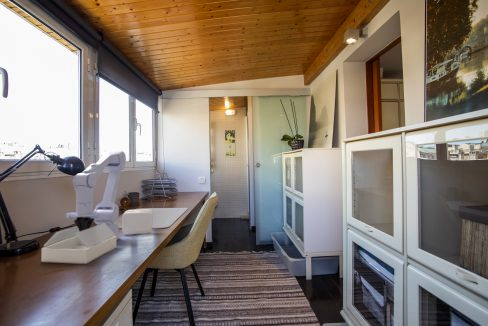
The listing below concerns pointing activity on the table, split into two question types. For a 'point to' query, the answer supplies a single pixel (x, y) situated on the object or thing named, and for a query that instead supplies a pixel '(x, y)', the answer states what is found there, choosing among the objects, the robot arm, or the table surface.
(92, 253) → the carton
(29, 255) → the table surface
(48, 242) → the flap
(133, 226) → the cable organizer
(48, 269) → the table surface
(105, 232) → the flap
